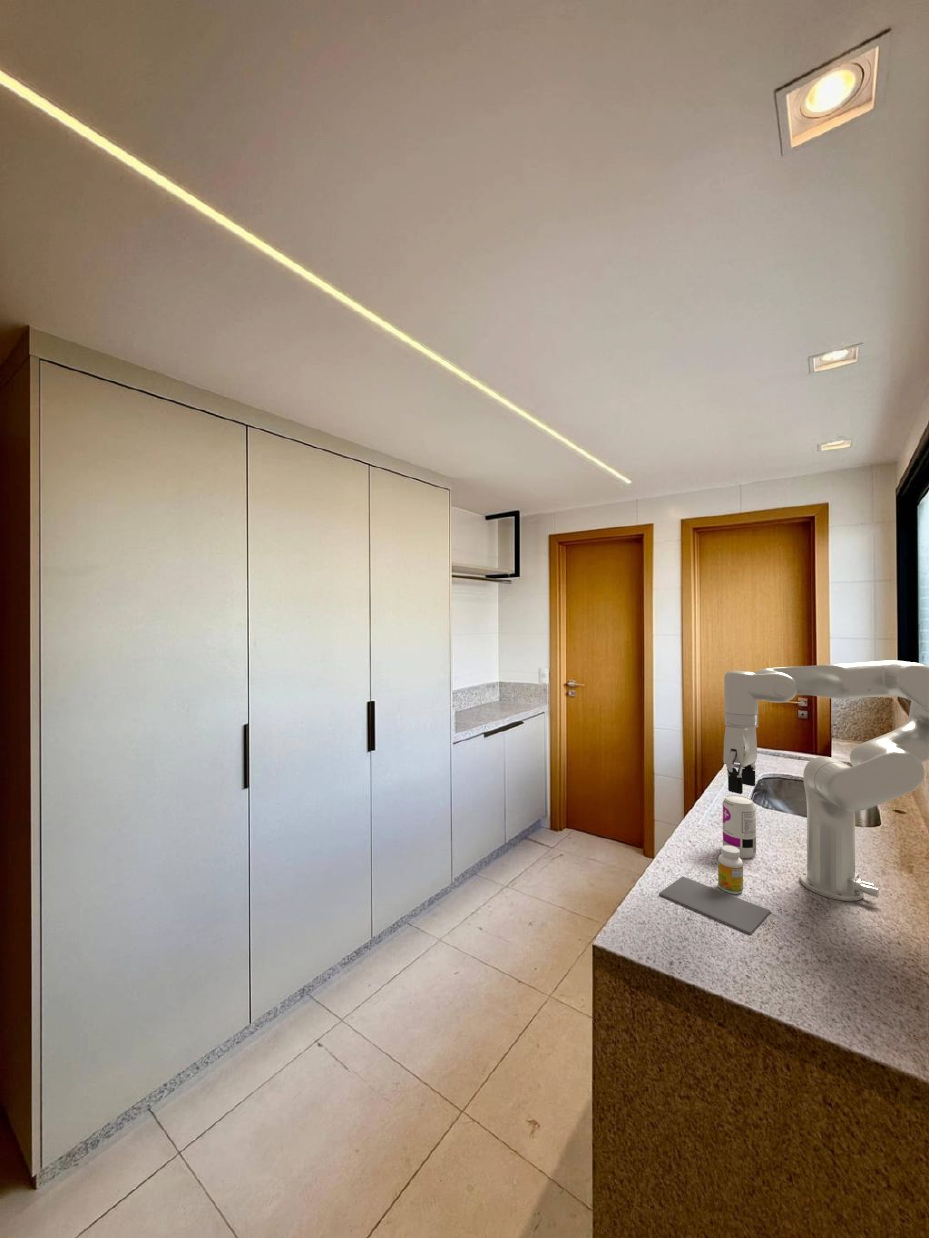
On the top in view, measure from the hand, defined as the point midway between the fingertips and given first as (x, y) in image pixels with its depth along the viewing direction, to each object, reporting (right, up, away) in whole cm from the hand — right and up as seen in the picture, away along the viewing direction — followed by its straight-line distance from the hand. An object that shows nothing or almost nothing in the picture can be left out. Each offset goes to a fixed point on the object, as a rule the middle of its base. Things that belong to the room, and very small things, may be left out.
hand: (741, 788), depth 126 cm
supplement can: (+7, -23, +14) cm, 28 cm away
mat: (-13, -23, -12) cm, 29 cm away
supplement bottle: (-6, -23, -5) cm, 24 cm away
